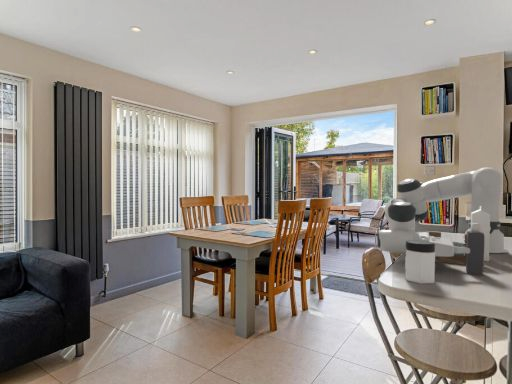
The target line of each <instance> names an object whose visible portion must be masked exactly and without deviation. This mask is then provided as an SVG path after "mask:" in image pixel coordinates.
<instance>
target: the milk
mask: <svg viewBox="0 0 512 384" xmlns="http://www.w3.org/2000/svg"><path fill="white" fill-rule="evenodd" d="M470 216H471V223H477V224H480V232H483V233H484V236H485V238H484V262H489V261H490V253H489V238H490V214H488V213H486V212H484V211H482V206H480V209H479V210H477V211H474V212H472V213H471V212H470Z"/></svg>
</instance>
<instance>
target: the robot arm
mask: <svg viewBox="0 0 512 384" xmlns="http://www.w3.org/2000/svg"><path fill="white" fill-rule="evenodd" d="M502 182H503V177H502V174H501V172H500V171H499V170H497V169H496V168H494V167H490V166H484V167H481V168H478V169H477V170H476V169H475V170H470V171H466V172H462V173H457V174H452V175H449V176H445V177H440V178H435V179H431V180H427V181H426V182H421V181H419V179H416V178H406V179H404V180H401V181H399V182H398V184H397V185H396V187H397V188H396V189H397V193H398V197H399V198H398V197H395V198H391V199H390V200H388V201H387V203H386V204H385V206H384V216H385V219H386V221H387V222H388V229H380V230H378V231H377V233H376V238H377V239H376V241H377V242H376V244H377V245H376V246H377V248H378V249H379V250H380V251H382V252H387V253H392V254H397V255H398V254H399V255H402V254H406V241H407V240H424V241H430V242H434V243H435V251H434V252H435V256H439V257H452V256H454V253H468V254H469V253H470V248H468V247H467V244H466V243H465V234H467V231H471V215H470V219H469V221H468V227H469V228H468V229H466V231H465V233H464V234H463V243H460V242H461V241H456V242H454V241H453V240H452V238H450V237H442V236H441V237H434V236H429V232H424V231H416V223H418V222H421V221H422V222H423V221H424V220H427V218H428V217H429V209H428V205H427V204H428V203H431V202H432V203H434V202H439V201H440V202H441V201H445V200H446V201H447V200H450V199H451V200H452V199H455V198H462V197H465V196H470V195H471V196H470V214H471V213H472V212H474V211H477V210H479V209H480V206H482V211H484V212H486V213H488V214H490V238H489V254H501V253H502V254H509V252H510V250H508V249H506V248H505V234H504V233H503V232H502V231H500V229H501V222H500V208H501V207H500V203H501V195H502V186H503V185H502V184H503V183H502Z"/></svg>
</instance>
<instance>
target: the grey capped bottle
mask: <svg viewBox="0 0 512 384" xmlns="http://www.w3.org/2000/svg"><path fill="white" fill-rule="evenodd" d="M466 231H467V230H466ZM467 247H468V248H470V253H469V254H468V253H467V256H466V266H465V271H466V274H467V275H476V276H484V267H483V253H484V233H483V232H480V224H477V223H471V231H467Z"/></svg>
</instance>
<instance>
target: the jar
mask: <svg viewBox="0 0 512 384" xmlns="http://www.w3.org/2000/svg"><path fill="white" fill-rule="evenodd" d="M434 251H435V243H434V242H430V241H424V240H407V241H406V253H405V258H404V267H405V268H404V277H405V281H409V282H413V283H415V284H416V283H417V284H421V285H422V284H423V285H424V284H426V285H427V284H435V272H436V269H435V268H436V261H435V252H434Z"/></svg>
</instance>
